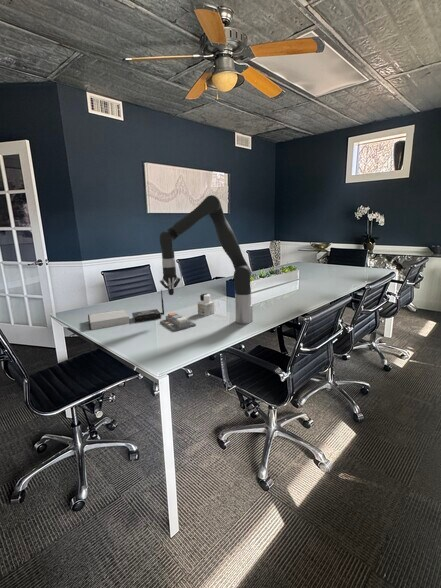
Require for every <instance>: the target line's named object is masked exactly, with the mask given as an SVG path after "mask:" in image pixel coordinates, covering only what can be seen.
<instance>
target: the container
mask: <svg viewBox="0 0 441 588" xmlns="http://www.w3.org/2000/svg"><path fill="white" fill-rule="evenodd" d="M199 297H200V301H198V302H197V314H199V315H201V316H204V317H207V316H210V315H212V314H215V305H214V301H211V294H210V293H201V294H200V295H199Z"/></svg>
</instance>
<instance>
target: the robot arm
mask: <svg viewBox="0 0 441 588" xmlns="http://www.w3.org/2000/svg"><path fill="white" fill-rule="evenodd" d="M206 216H209V218H211V221H212V223H213V225H214V228H215V232H216V235H217V239H218V240H219V243H220V246H221V248H222V250H223V251H224V253H225V254H226V255H227V256H228V258H229V259H230V261H231V263H232V266H233V268H234V272H233V288H234V302H235V305H234V306H235V323H237V324H240V325H241V324H243V325H245V324H249V323H251V322H253V321H254V319H253V316H254V315H253V311H254V310H253V305H252V288H251V277H252V271H251V268H250V266H249V265H248V263H247V261H246V259H245V257H244V256H243V252H242V250H241V247H240V244H239V242H238V239H237V237H236V235H235V233H234V230H233V229H232V227H231V224H230V223H229V221H228V220H227V218H226V215H225V213H224V211H223V207H222V203H221V201H220V199H219V198H218V197H217V196H216V195H213V194H212V195H211V194H210V195H207V196H206V197H205V198H204V199H203V201H202V202H200V203H199V205H198V206H196V207H195V208H194V209H192V210H191V211H190V212H188V214H186V215H185V216H184V217H182V218H180V219H179V220H178V221H176V222H175V223H174V224H173V225H172V226H170V227H169V228H168V229H166V230H163V231H162V232H161V233H160V234H159V244H160V249H161V261H162V262H161V264H162V267H161V268H162V275H163V276H162V279H160V280H159V284H161V285H162V286H163V287H164V288H165V289H167V292H168V293H167V294H168V295H170V296H173V295H174V294H175V292H174V291H175V288H177V287H178V285H179V283H180V281H181V278H180V277H178V275H177V268H176V267H177V265H176V259H175V250H174V248H173V242H174V241H175V240H176V239H177V238H179V236H181V235H183V234H184V233H185V232H187V231H188V230H190V229H191V228H192V227H193V226H194V225H196V224H197V223H198V222H199V221H200V220H202V219H203V218H204V217H206Z"/></svg>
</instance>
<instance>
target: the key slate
mask: <svg viewBox="0 0 441 588" xmlns="http://www.w3.org/2000/svg"><path fill="white" fill-rule="evenodd" d="M181 317H183V316H182V315H180V314H178V315H175V316H172V319H173V320H175V321H176V320H177V318H181Z"/></svg>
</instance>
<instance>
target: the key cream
mask: <svg viewBox="0 0 441 588" xmlns="http://www.w3.org/2000/svg"><path fill="white" fill-rule="evenodd" d="M187 320H188V318H186V317H184V316H182V317H181V318H177V322H178V323H184V322H187Z"/></svg>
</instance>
